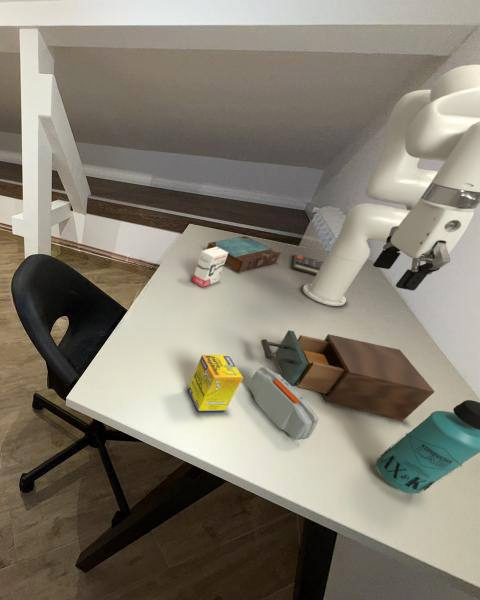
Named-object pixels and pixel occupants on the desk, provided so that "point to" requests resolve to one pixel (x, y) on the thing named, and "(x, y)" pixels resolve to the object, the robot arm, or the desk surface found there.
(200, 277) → the ink box
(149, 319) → the desk surface
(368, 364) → the cabinet
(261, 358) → the desk surface
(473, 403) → the beverage bottle
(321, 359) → the block
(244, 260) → the book
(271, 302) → the desk surface
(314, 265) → the calculator
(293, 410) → the gray case
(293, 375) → the drawer
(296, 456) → the desk surface
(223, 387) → the supplement box
